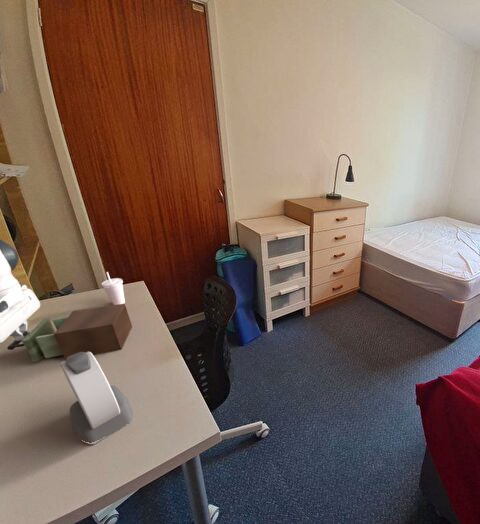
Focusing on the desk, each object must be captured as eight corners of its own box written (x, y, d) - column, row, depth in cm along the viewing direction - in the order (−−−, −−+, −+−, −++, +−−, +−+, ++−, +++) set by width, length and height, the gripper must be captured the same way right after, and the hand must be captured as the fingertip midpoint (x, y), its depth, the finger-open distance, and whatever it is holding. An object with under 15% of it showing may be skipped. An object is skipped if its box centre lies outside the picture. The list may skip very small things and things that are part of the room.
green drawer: (10, 367, 79) (-3, 345, 76) (33, 342, 88) (22, 321, 85) (88, 352, 85) (79, 331, 82) (101, 330, 95) (94, 311, 92)
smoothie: (104, 306, 110) (92, 273, 104) (120, 298, 115) (110, 267, 110) (117, 308, 108) (106, 276, 103) (133, 300, 114) (123, 269, 109)
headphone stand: (141, 421, 66) (119, 362, 59) (85, 457, 59) (51, 393, 51) (118, 387, 75) (95, 331, 68) (66, 414, 67) (35, 354, 60)
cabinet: (65, 360, 83) (53, 334, 79) (83, 335, 94) (73, 310, 90) (121, 349, 88) (112, 324, 84) (132, 326, 99) (124, 303, 95)
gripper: (8, 282, 84) (29, 320, 90) (-47, 319, 67) (-17, 363, 72) (36, 279, 86) (54, 316, 92) (-10, 313, 69) (16, 357, 75)
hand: (23, 337), depth 82 cm, fingers closed, pressing on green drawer
